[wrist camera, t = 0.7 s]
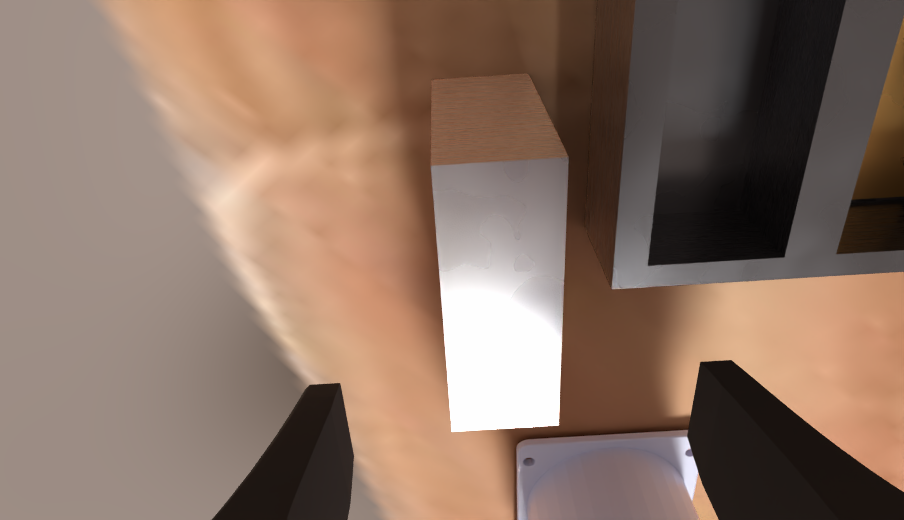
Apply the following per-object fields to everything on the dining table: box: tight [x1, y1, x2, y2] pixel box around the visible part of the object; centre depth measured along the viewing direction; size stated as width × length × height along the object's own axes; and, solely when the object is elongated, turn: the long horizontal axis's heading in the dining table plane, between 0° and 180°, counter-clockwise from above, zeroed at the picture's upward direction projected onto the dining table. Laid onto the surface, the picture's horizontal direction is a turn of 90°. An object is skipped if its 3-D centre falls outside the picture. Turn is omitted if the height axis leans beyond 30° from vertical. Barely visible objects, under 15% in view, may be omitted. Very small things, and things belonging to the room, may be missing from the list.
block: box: [431, 73, 569, 432], centre depth 19 cm, size 8×3×7 cm, turn 3°
